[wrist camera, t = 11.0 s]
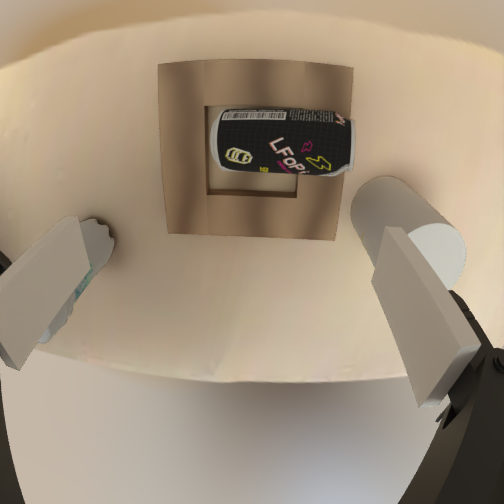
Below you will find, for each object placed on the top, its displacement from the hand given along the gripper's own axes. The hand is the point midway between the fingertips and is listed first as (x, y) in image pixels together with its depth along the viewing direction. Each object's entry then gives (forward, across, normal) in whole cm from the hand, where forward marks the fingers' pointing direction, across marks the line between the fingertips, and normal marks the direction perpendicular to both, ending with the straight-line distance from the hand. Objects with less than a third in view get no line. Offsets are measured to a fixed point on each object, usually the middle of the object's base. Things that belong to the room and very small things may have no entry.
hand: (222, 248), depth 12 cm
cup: (+21, +15, -6) cm, 26 cm away
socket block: (+21, 0, 0) cm, 21 cm away
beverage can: (+17, -3, +1) cm, 18 cm away
